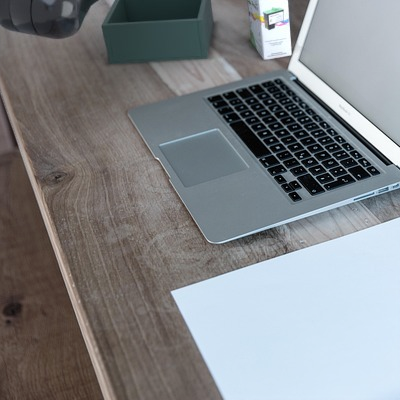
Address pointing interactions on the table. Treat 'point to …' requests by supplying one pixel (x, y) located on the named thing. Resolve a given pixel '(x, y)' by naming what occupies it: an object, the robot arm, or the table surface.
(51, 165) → the table surface
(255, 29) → the ink box
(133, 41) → the bin
